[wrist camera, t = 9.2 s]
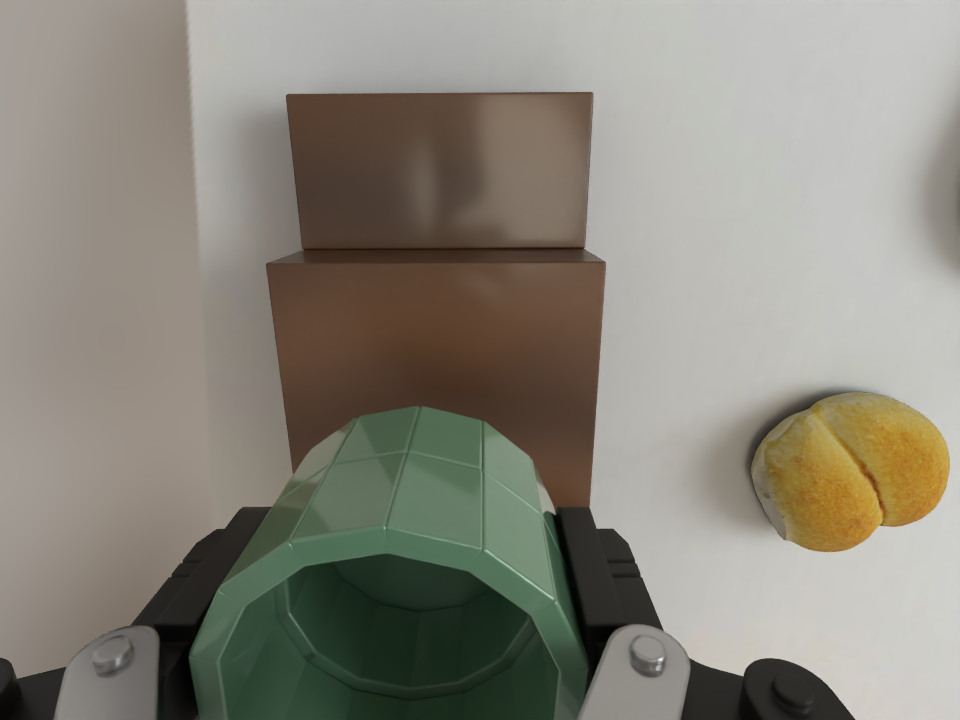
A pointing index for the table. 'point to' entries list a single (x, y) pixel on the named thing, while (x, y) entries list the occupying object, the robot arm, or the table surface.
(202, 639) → the cup
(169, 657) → the robot arm
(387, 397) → the wooden stair steps
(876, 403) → the bread roll
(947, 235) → the table surface
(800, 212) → the table surface
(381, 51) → the table surface
